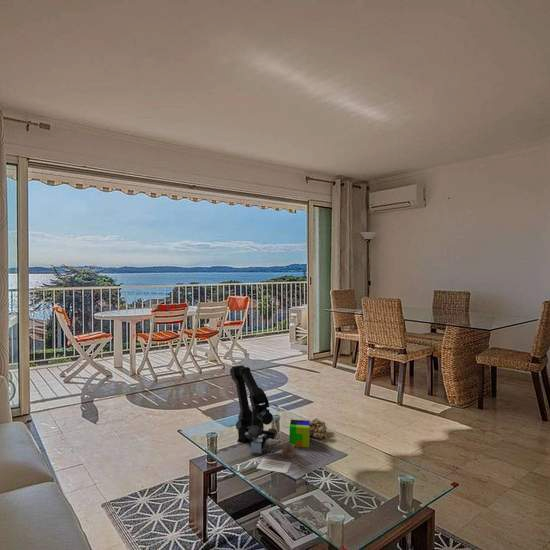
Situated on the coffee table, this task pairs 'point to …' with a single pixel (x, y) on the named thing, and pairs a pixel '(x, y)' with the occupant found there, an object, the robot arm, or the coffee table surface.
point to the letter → (274, 465)
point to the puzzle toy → (299, 433)
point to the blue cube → (256, 446)
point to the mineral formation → (317, 428)
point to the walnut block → (288, 450)
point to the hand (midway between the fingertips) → (257, 448)
